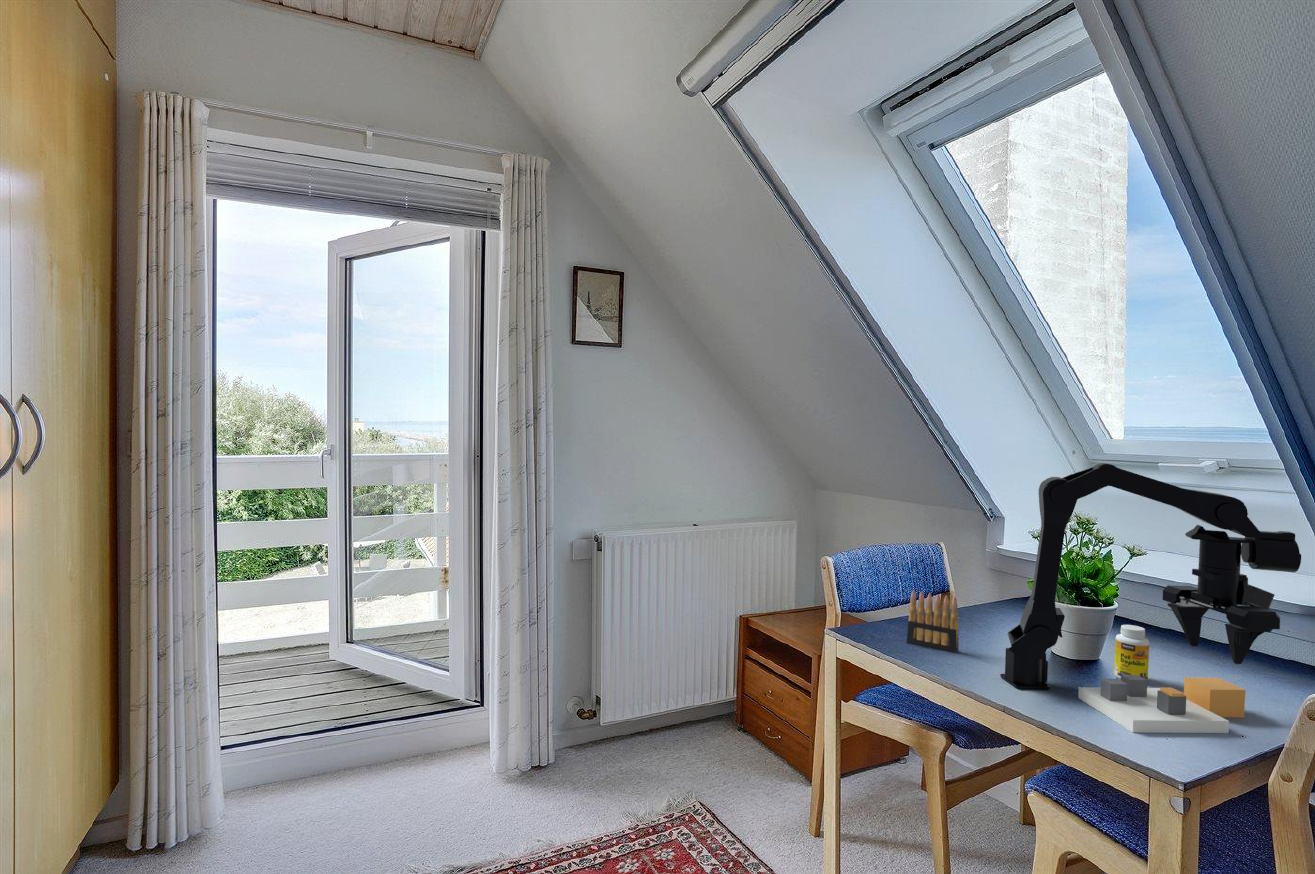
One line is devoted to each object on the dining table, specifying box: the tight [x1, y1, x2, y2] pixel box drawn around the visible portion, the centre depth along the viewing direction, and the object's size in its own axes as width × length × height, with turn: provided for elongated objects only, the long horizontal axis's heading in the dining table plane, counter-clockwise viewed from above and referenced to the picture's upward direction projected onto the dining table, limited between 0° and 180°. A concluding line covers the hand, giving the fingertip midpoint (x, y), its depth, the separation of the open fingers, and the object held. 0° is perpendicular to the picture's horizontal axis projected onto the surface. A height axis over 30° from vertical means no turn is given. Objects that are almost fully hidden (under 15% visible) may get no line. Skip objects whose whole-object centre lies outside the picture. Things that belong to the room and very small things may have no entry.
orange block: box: [1183, 676, 1246, 719], centre depth 124 cm, size 6×6×5 cm
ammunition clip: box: [905, 589, 959, 654], centre depth 155 cm, size 11×2×12 cm, turn 53°
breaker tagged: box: [1157, 686, 1186, 714], centre depth 118 cm, size 3×3×4 cm
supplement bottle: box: [1113, 624, 1150, 681], centre depth 139 cm, size 6×6×10 cm
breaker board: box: [1077, 675, 1230, 734], centre depth 121 cm, size 16×14×5 cm
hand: (1215, 654), depth 124 cm, fingers open, 9 cm apart
